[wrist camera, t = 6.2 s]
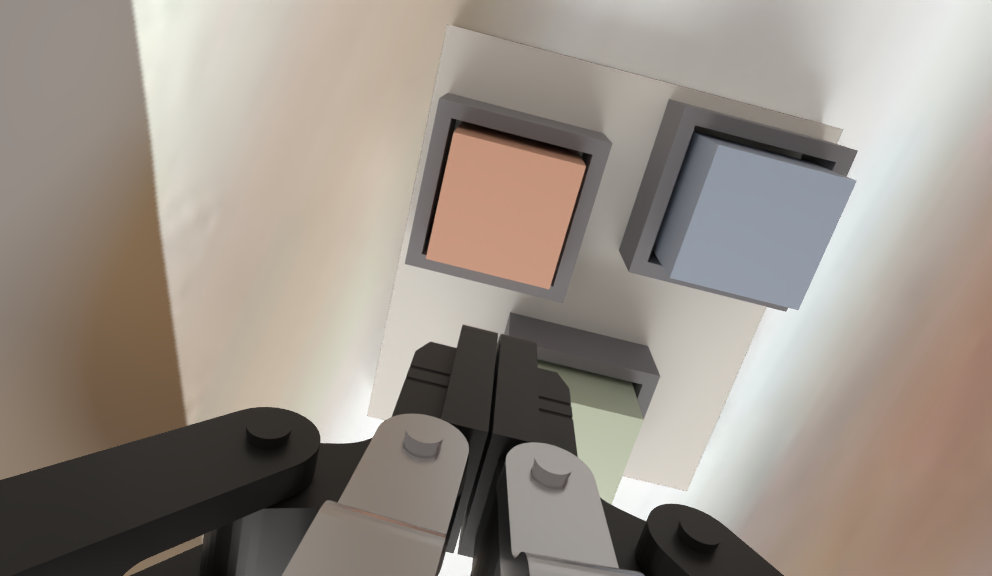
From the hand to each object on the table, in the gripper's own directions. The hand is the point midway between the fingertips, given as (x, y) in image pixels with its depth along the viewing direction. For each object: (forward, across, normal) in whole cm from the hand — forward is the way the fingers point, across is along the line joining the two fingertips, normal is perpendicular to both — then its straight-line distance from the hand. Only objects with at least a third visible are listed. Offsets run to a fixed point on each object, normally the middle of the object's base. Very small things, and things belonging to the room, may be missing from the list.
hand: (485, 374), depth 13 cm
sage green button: (+15, -5, +9) cm, 19 cm away
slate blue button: (+16, -9, -2) cm, 18 cm away
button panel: (+19, -4, +3) cm, 20 cm away
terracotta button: (+17, 0, 0) cm, 17 cm away
